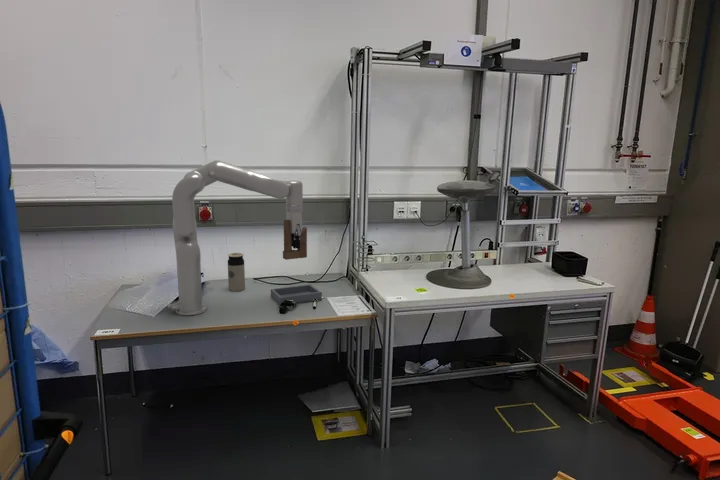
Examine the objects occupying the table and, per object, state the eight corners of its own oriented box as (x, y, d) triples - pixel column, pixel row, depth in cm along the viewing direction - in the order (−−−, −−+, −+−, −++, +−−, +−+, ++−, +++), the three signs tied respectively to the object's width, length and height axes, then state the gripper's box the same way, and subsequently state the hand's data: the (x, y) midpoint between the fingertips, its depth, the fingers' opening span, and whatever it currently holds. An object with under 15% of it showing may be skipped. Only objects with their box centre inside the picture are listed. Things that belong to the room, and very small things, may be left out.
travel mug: (239, 286, 247) (238, 251, 243) (248, 289, 241) (247, 254, 238) (225, 289, 241) (224, 254, 237) (234, 292, 236) (232, 257, 232)
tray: (279, 306, 217) (279, 297, 217) (270, 297, 230) (270, 289, 229) (321, 300, 227) (321, 292, 226) (310, 291, 239) (310, 284, 238)
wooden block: (307, 257, 225) (307, 219, 221) (285, 260, 220) (285, 221, 216) (304, 256, 228) (303, 218, 224) (282, 258, 223) (282, 219, 219)
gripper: (280, 206, 225) (281, 244, 228) (292, 210, 210) (292, 251, 214) (296, 205, 228) (296, 243, 232) (308, 210, 213) (308, 250, 217)
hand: (294, 246), depth 223 cm, fingers closed on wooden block, 3 cm apart
